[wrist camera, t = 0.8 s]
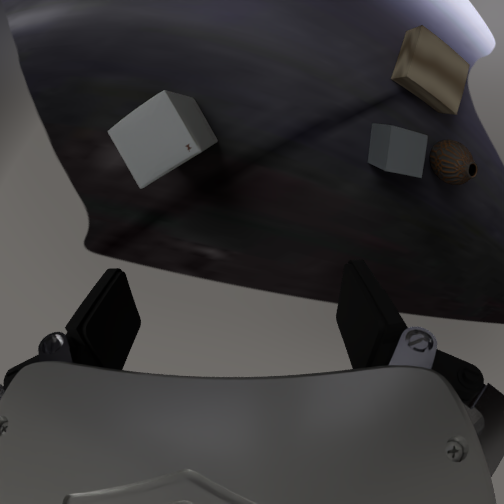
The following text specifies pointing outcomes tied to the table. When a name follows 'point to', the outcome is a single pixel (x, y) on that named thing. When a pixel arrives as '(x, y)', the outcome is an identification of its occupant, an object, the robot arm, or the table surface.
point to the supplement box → (161, 136)
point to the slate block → (397, 150)
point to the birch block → (431, 70)
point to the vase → (452, 162)
